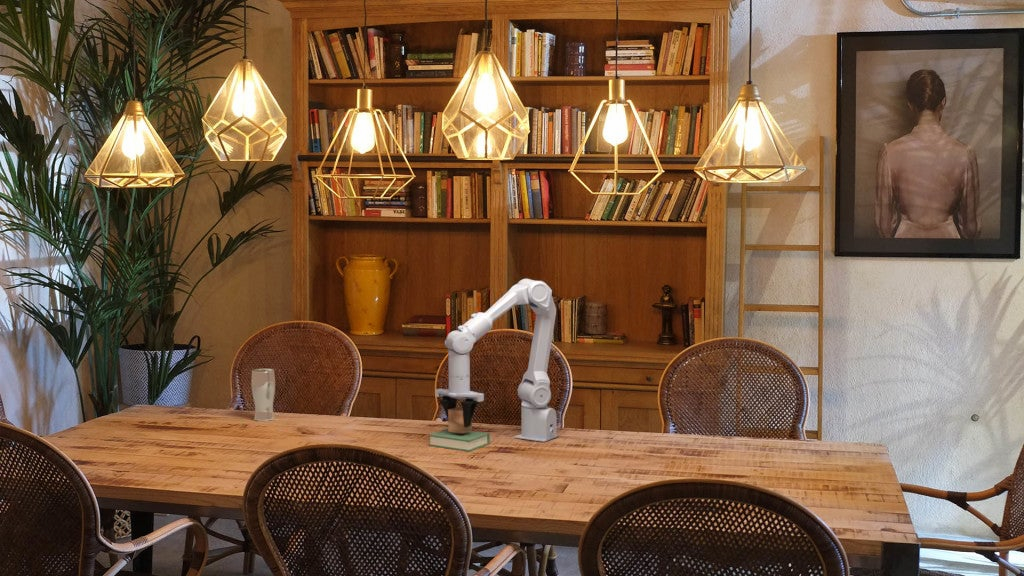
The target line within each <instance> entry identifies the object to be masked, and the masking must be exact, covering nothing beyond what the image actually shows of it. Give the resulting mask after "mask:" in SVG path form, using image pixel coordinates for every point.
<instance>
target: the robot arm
mask: <svg viewBox="0 0 1024 576" xmlns="http://www.w3.org/2000/svg"><path fill="white" fill-rule="evenodd" d="M552 292H553V290H552V289H551V287H550V286H549V285H548V284H547V283H546V282H544V281H543V280H533V279H530V278H523V279H521V280H519V281H518V282H517V283H516V284H514V285H512V286H511V287H510V288H509V290H508V291H507V292H506V293H505V294H504V295H502V296H501V297H500V298H499V299H498V300H497V301H496V302H495V303H494V304H493V305H492V306H490V307H489V308H488V309H487V310H486V311H485V312H480V311H478V312H477V313H472V314H471V315H470V317H471V318H469V320H467V321H465V323H464V324H462V325H461V324H460V325H459V326H457V329H458V330H453V331H451V332H449V333H448V334H447V336H446V340H444V344H445V347H446V348H447V349H448V360H447V361H448V364H447V365H448V388H436V389H435V390H434V392H435V393H434V396H435V398H436V397H437V398H439V397H442V398H441V399H440V400H439V403H440V404H441V407H442V408H443V410H444V412H445V415H446V419H447V420H448V410H449V409H452V408H455V407H457V403H458V400H463V401H461V402H460V403H461V407H462V408H463V414H464V426H465V427H468V426H470V425H471V421H472V422H473V416H474V413H475V410H476V409H477V407H478V405H479V403H480V402H484V401H485V400H484V399H485V393H481V392H477V391H472V390H471V387H470V385H471V378H470V377H471V376H470V375H471V372H470V371H471V370H470V369H471V368H470V367H471V365H470V364H471V362H470V360H471V358H470V352H471V351H472V350H473V347H474V344H475V343H476V342H478V341H479V340H480V339H481V338H483V336H484V335H486V334H487V333H489V332H490V331H491V330H492V328H493V324H494V322H495V321H497V320H498V319H499V318H500V317H502V316H503V315H504V314H506V313H507V312H508V311H510V310H511V309H512V308H514V307H515V306H518V305H528V306H529V307H530V308H531V310H532V311H533V312H534V313H535V321H534V328H533V335H532V340H531V347H530V353H529V359H528V365H527V370H526V371H525V372H524V373H523V376H522V381H521V382H520V384H519V385H518V388H517V394H518V397H519V399H520V400H521V405H520V406H521V408H520V409H521V412H520V413H521V414H520V415H521V426H520V427H521V433H520V434H518V435H515V436H514V437H515V439H519V440H528V441H536V442H544V443H545V442H547V441H551V440H552V439H555V438H557V437H558V436H559V435H558V434H557V433H558V432H557V431H558V430H557V429H558V426H557V421H558V419H557V418H558V417H557V412H556V409H555V408H552V407H549V406H548V404H549V402H551V399H552V391H551V388H550V387H551V386H550V385H551V381H550V377H549V376H548V367H549V362H550V354H551V347H552V343H553V342H552V340H553V336H554V335H553V334H554V329H555V323H556V322H555V321H556V316H557V307H556V305H555V301H554V299H553V296H552V295H553V293H552Z"/></svg>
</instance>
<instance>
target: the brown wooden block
mask: <svg viewBox="0 0 1024 576" xmlns="http://www.w3.org/2000/svg"><path fill="white" fill-rule="evenodd" d="M447 426H448V427H447V429H448V432H456V433H465V432H468V431H473V420H472V421H471V425H470V426H468V427H465V426H464V414H463V408H462V406H456V407H455V408H452V409H449V410H448V419H447Z"/></svg>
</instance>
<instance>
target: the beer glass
mask: <svg viewBox="0 0 1024 576" xmlns="http://www.w3.org/2000/svg"><path fill="white" fill-rule="evenodd" d="M275 375H276V374H275V369H274V368H266V367H265V368H256V369H252V370H251V380H250V381H251V393H252V397H253V403H254V415H253V421H255V420H258V421H257V422H269V420H270V421H273V419H274V420H275V414H274V399H275V393H276V377H275Z"/></svg>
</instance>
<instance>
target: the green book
mask: <svg viewBox="0 0 1024 576" xmlns="http://www.w3.org/2000/svg"><path fill="white" fill-rule="evenodd" d="M428 436H429V438H430V439H429V441H430V442H429V444H428V446H429V447H435V448H436V447H437V448H440V449H441V448H443V449H450V450H454V451H455V450H456V451H462V452H468V453H470V452H472V451H475V450H479V449H480V448H483V447H486V446H488V445H490V444H491V439H490V436H491V433H490V432H485V431H484V432H483V431H476V430H471V431H468V432H465V433H456V432H448V428H445V429H442V430H440V431H436V432H433V433H431V434H429V435H428Z"/></svg>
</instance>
